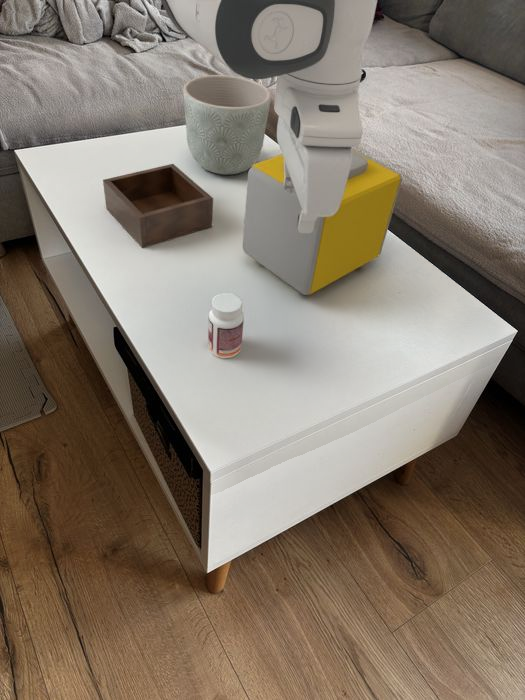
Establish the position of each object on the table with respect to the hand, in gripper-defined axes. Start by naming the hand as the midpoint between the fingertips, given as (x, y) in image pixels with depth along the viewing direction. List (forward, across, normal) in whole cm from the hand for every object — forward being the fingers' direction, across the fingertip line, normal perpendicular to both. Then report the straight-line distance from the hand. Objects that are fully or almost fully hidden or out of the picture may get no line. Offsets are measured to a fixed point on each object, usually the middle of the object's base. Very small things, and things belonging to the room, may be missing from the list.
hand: (297, 209), depth 70 cm
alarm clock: (+19, -15, +8) cm, 25 cm away
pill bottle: (+19, +5, -9) cm, 22 cm away
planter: (+19, -49, -4) cm, 53 cm away
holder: (+19, -28, -18) cm, 38 cm away
